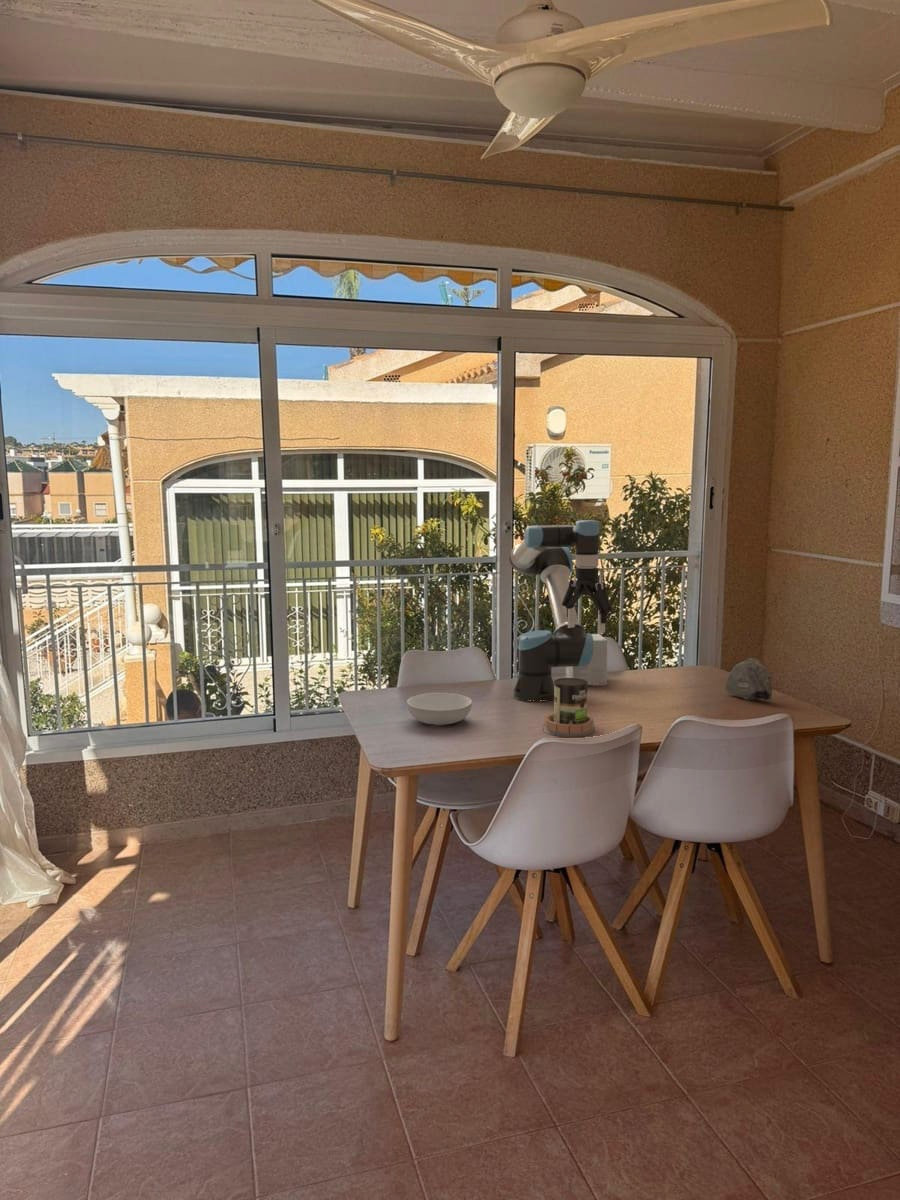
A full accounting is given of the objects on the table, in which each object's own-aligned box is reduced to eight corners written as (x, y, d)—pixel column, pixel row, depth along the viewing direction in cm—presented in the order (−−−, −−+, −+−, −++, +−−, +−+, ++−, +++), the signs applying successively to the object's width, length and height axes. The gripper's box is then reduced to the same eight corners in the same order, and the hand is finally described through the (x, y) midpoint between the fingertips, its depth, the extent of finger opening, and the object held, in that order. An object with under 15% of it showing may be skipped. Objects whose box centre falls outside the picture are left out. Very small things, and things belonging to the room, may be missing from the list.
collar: (536, 733, 248) (536, 722, 247) (550, 719, 262) (550, 709, 262) (588, 739, 242) (588, 728, 241) (599, 724, 256) (600, 714, 256)
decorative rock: (773, 703, 280) (775, 660, 278) (761, 706, 276) (763, 662, 274) (734, 693, 293) (735, 652, 291) (722, 695, 290) (723, 654, 288)
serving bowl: (421, 734, 249) (421, 712, 248) (398, 717, 268) (397, 696, 267) (482, 726, 257) (482, 704, 256) (455, 709, 276) (455, 689, 275)
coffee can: (593, 726, 252) (594, 681, 250) (570, 732, 245) (571, 687, 243) (569, 719, 260) (570, 675, 258) (546, 725, 253) (546, 681, 251)
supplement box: (598, 677, 319) (599, 633, 317) (607, 685, 306) (607, 639, 304) (565, 678, 318) (565, 634, 316) (572, 686, 305) (572, 640, 303)
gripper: (623, 569, 262) (622, 633, 265) (567, 563, 282) (567, 624, 285) (607, 570, 257) (606, 636, 260) (552, 565, 277) (551, 626, 280)
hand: (586, 630), depth 272 cm, fingers open, 13 cm apart
